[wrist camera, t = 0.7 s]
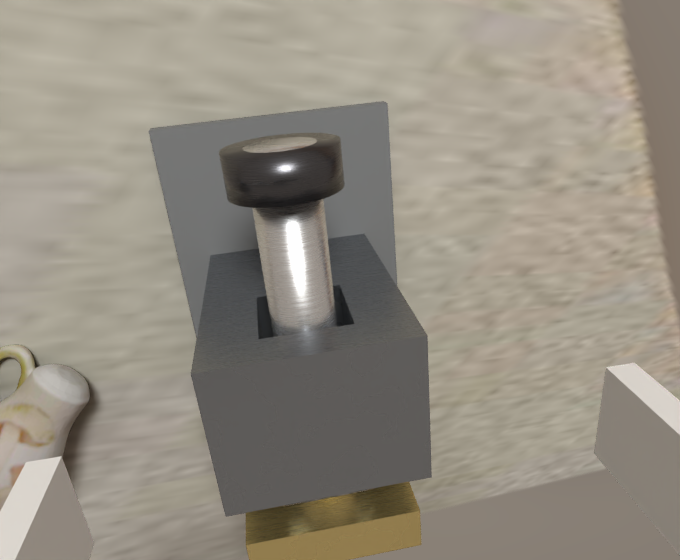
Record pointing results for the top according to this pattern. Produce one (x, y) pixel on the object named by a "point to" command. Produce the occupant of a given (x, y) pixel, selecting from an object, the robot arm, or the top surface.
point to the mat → (238, 222)
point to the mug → (37, 414)
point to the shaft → (290, 221)
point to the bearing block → (311, 385)
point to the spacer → (336, 526)
